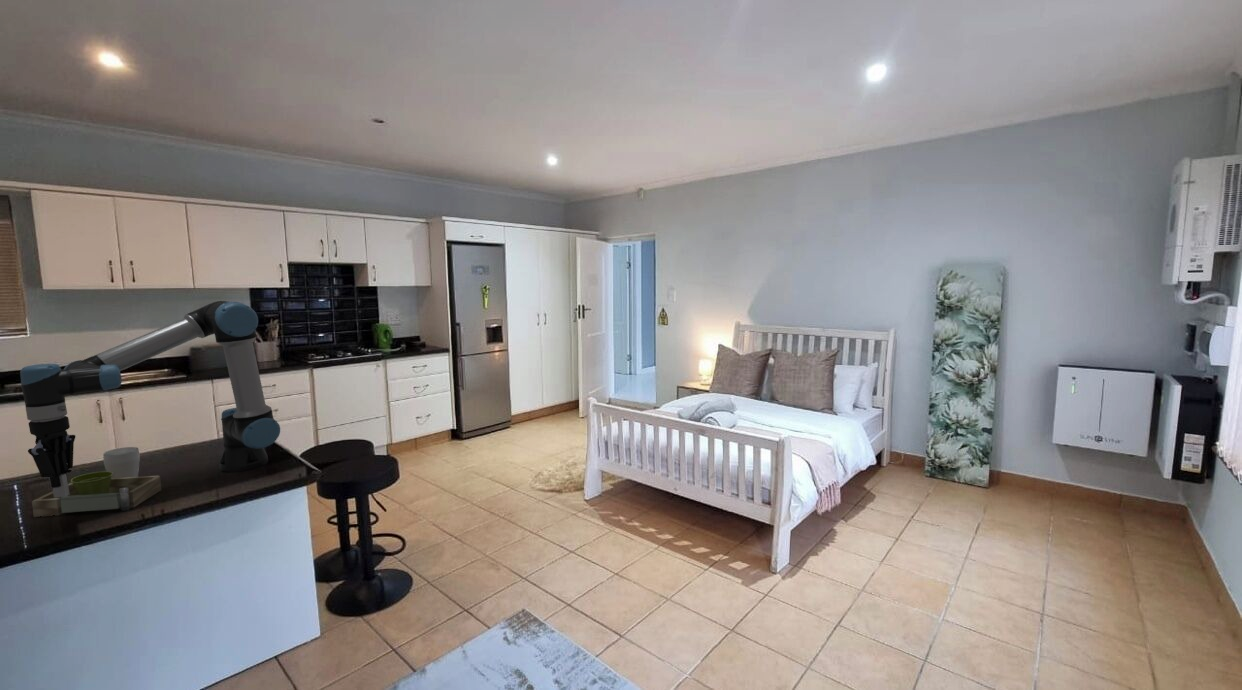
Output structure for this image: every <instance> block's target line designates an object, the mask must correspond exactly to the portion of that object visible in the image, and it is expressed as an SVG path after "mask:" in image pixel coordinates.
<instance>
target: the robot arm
mask: <svg viewBox="0 0 1242 690" xmlns="http://www.w3.org/2000/svg"><path fill="white" fill-rule="evenodd" d="M258 325H259V317H258V314H257V313H256V311H255V310H254V309H253V308H252V307H250V306H249V305H247V304H245V303H242V302H239V301H228V300H219V301H214V302H211V303H208V304H207V305H204V306H202V307H199V308H197V309H196V310H193V311H190V312H188V313H186V314H184V316H183V318H182V319H180V320H176V321H175V322H172V323H169V324H167V325H164V326H163V327H160V328H157V329H154V330H153V331H152V330H151V331H150V332H148V333H145V334H143V335H140V336H139V337H138V336H137V337H135V338H133V339H130V340H129V341H125V342H124V343H121V344H118V345H117V346H115V347H114V346H113V347H111V348H109V349H106V350H105V351H102V352H98V353H97V354H95V355H92V356H89V357H87V358H85V359H82V360H81V359H79V360H74V361H71V362H69V363H67V365H65V367H64V368H63V369H62V367H61V366H60V364H58V363H41V364H40V363H39V364H33V365H27V366H24V367H22V368H21V369H20V372H19V374H20V375H19V376H20V385H21V390H22V394H23V395H22V396H23V399H24V405H25V412H26V418H27V420H28V421H29V422H28V428H29V433H30V434H31V435H33V436H34V437H35V446H34V447H33V448H28V450H27V452H28V454H29V455H30V456H31V457H32V459H33V461H34V464H35V466H36V467H37V470H38V473H39V474H40V476H41V478H49V481H50V487H51V489H52V491H53V495H54V498H56V497H66V496H68V495H70V493H69V487H68V484H69V479H68V473H69V474H70V473H72V469H73V466H74V448H75V447H74V446H75V445H74V444H75V440H76V438H77V437H76V434H68V431H67V430H69V429H70V428H71V427H70V419H69V417H68V416H67V414H68V410H67V404H66V396H71V395H75V394H84V393H85V394H86V393H92V392H93V393H94V392H100V391H109V390H113V389H118V388H120V387H121V385H122V374H121V371H124V370H127V369H128V368H131V367H132V366H136V365H138V364H140V363H142V362H145V361H146V360H149V359H151V358H154V357H156V356H157V355H160V354H163V353H164V352H167V351H169V350H172V349H174V348H176V347H179V346H181V345H183V344H185V343H188V342H190V341H193V340H195V339H197V338H201V339H203V338H206V337H208V336H211V335H214V337H215V338H214V339H215V341H216V343H217V344H218V345H219V346H222V348H223V353H224V357H225V358H224V359H225V362H226V366H227V370H228V375H229V379H230V385H231V389H232V393H233V399H234V403H235V407H233V408H228V409H225V410H223V411H222V412H221V419H220V420H221V428H222V442H223V451H222V454H221V456H220V460H219V466H218V467H219V470H220V471H221V472H228V473H237V472H246V471H250V470H255V469H257V468H260V467H262V466H264V465H266V464H268V462H269V457H268V454H267V452H266V450H265V448H267V447H270V446H272V444H274V443H275V442H276V441H277V440H278V438H279V437H280V435H281V434H280V433H281V427H280V423H279V422H278V421H277V420H275V419H274V415H273V410H272V407H271V406H269V405H267V404H266V401H265V395H264V392H263V391H264V390H263V386H262V381H261V376H260V372H259V371H260V370H259V367H258V362H257V356H256V351H255V347H254V341H255V340H256V339H257V338H258V337H257V332H256V330H257V328H258Z"/></svg>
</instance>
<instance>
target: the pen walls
mask: <svg viewBox="0 0 1242 690" xmlns="http://www.w3.org/2000/svg"><path fill="white" fill-rule="evenodd" d="M68 487H69V493H70V495H68V496H77V495H78V494H77V491H76V488H75V486H74V485H73V483H71V482H68ZM123 487H128V490H129V500H130V508H135V507H137V506H138V505H139V504H140V505H141V503H143V502H145V501H146V500H148V499H149V498H151V497H153V496H154V495H157V493H159V492H161V491H162V482H161V476H160V475H147V476H146V475H144V476H143V475H141V476H138V477H124V478H111V480H110V486H109V493H120V492H119V489H120V488H123ZM60 498H62V497H56V498H54V495H53V490H52V491H51V492H48V493H46V494H43V495H42V496H39V497H38V498H36V499H33V500H32V501H31V505H32V512H33V513H32V514H33V518H37V517H39V518H40V516H41V517H52V516H53V515H55V516H60V515H62V514H63V513H62V509H61V501H60ZM67 513H69V514H70V513H72V512H67ZM53 517H54V516H53Z"/></svg>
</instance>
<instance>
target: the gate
mask: <svg viewBox="0 0 1242 690" xmlns="http://www.w3.org/2000/svg"><path fill="white" fill-rule="evenodd" d="M60 501H61V511H62V514H64V513H65V514H66V513H68V512H71V513H78V512H91V511H104V510H105V511H106V510H117V509H118V510H119V508H120V509H121V502H120V493H105V494H91V495H77V496H66V497H62V498H60Z"/></svg>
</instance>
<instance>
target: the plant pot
mask: <svg viewBox="0 0 1242 690" xmlns="http://www.w3.org/2000/svg"><path fill="white" fill-rule="evenodd" d="M112 475H113V472H109V471H106V470H105V471H104V470H103V471H94V472H90V473H85V474H81V475H77V476H74V477H73V478H70V482H69V483H73V485H74V486H75V488H76V491H77V494H78V495H91V494H105V493H109V486H110V480H111V477H112Z"/></svg>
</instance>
